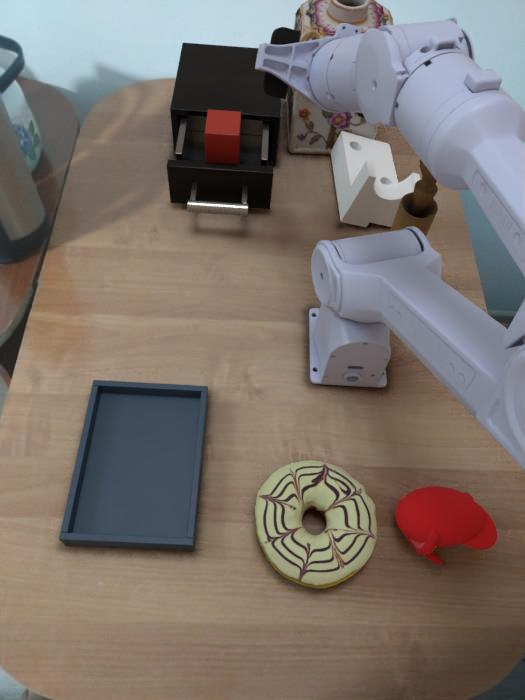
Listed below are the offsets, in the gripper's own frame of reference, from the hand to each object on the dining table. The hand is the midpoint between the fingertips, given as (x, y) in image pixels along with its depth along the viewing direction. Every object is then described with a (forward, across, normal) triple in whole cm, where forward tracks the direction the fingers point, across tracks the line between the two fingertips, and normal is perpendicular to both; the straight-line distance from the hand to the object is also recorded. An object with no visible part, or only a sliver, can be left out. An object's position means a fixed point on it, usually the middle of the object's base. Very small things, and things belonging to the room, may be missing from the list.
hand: (307, 76), depth 57 cm
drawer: (+13, +4, +13) cm, 19 cm away
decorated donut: (-24, -1, +38) cm, 45 cm away
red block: (+13, +4, +12) cm, 18 cm away
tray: (-16, +13, +36) cm, 42 cm away
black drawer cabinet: (+23, +3, +7) cm, 24 cm away
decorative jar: (+20, -11, +5) cm, 23 cm away
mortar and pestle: (-2, -15, +19) cm, 24 cm away
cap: (-27, -12, +36) cm, 46 cm away
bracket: (+9, -14, +11) cm, 20 cm away
